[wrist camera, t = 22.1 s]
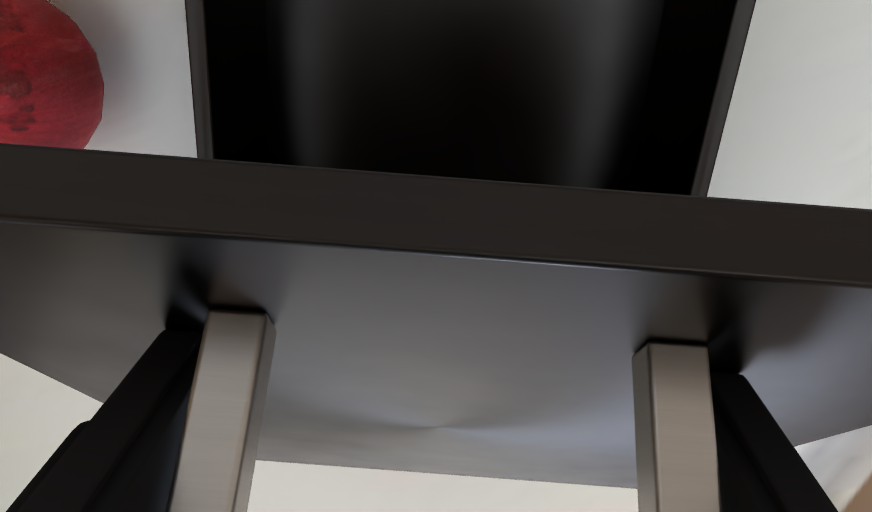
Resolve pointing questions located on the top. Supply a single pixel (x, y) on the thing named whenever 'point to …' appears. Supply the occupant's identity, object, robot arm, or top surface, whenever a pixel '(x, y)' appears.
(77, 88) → the red round piece
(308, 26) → the black shallow rectangular box
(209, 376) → the lid
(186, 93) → the top surface
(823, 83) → the top surface
